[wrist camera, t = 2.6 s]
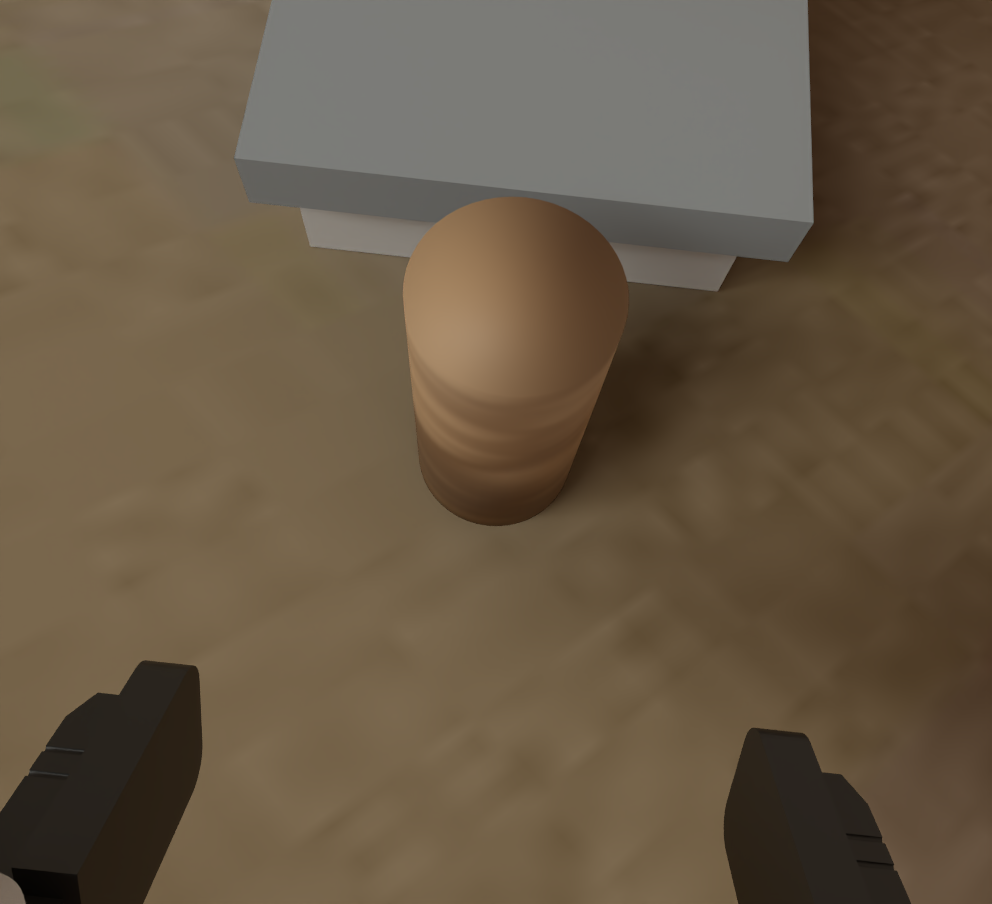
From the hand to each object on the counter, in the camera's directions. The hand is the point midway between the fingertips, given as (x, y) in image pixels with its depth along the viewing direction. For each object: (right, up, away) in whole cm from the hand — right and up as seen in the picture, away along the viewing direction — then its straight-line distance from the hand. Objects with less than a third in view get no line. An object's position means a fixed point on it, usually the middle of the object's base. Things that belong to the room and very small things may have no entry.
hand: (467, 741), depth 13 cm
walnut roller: (0, +4, +15) cm, 16 cm away
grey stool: (+2, +15, +19) cm, 25 cm away
